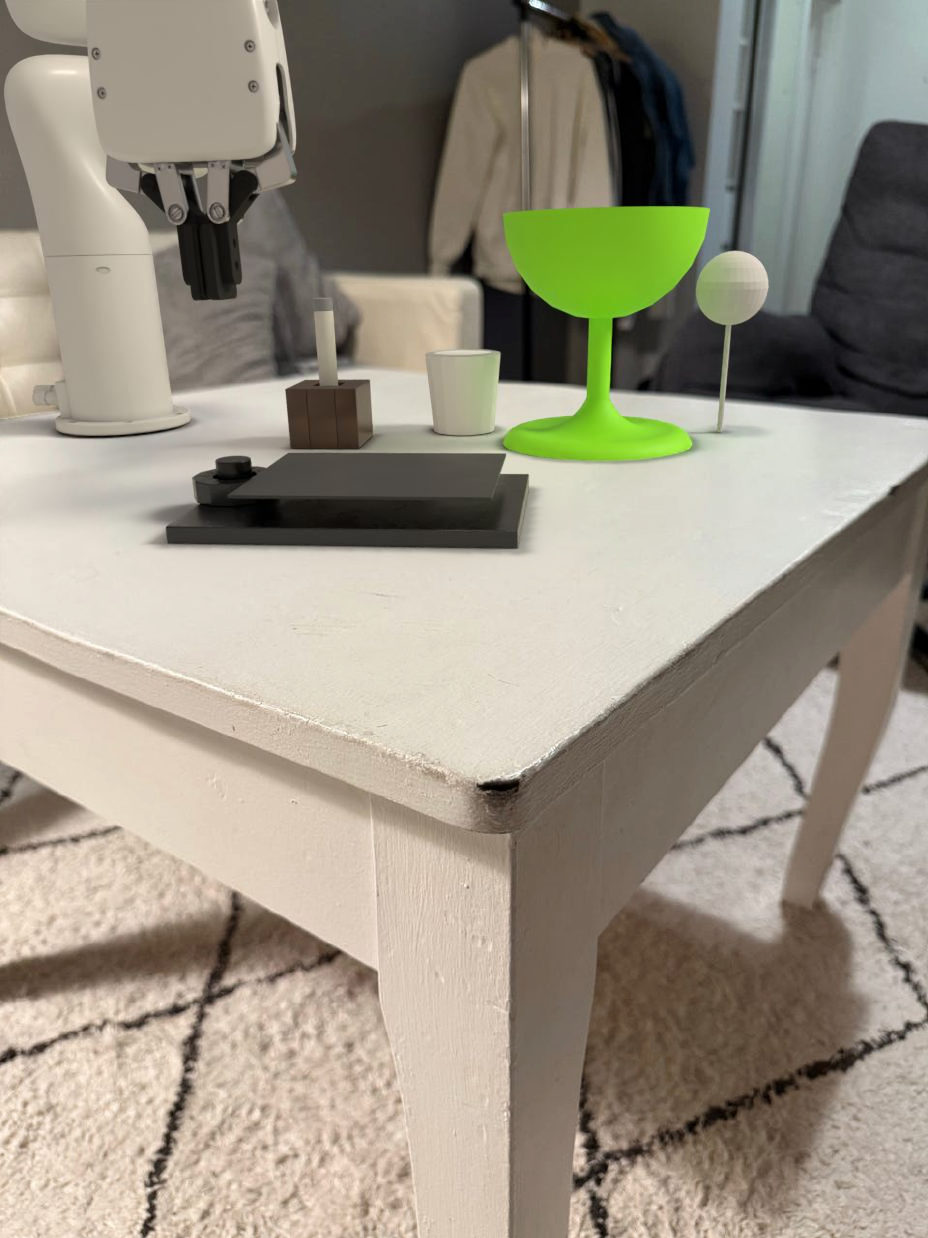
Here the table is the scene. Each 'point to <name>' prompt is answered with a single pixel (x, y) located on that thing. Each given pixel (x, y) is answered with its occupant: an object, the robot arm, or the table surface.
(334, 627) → the table surface
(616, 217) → the wineglass
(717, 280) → the lollipop
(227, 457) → the button
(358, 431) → the pen stand
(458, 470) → the screen
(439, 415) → the shot glass
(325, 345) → the stylus
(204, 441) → the table surface
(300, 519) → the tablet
